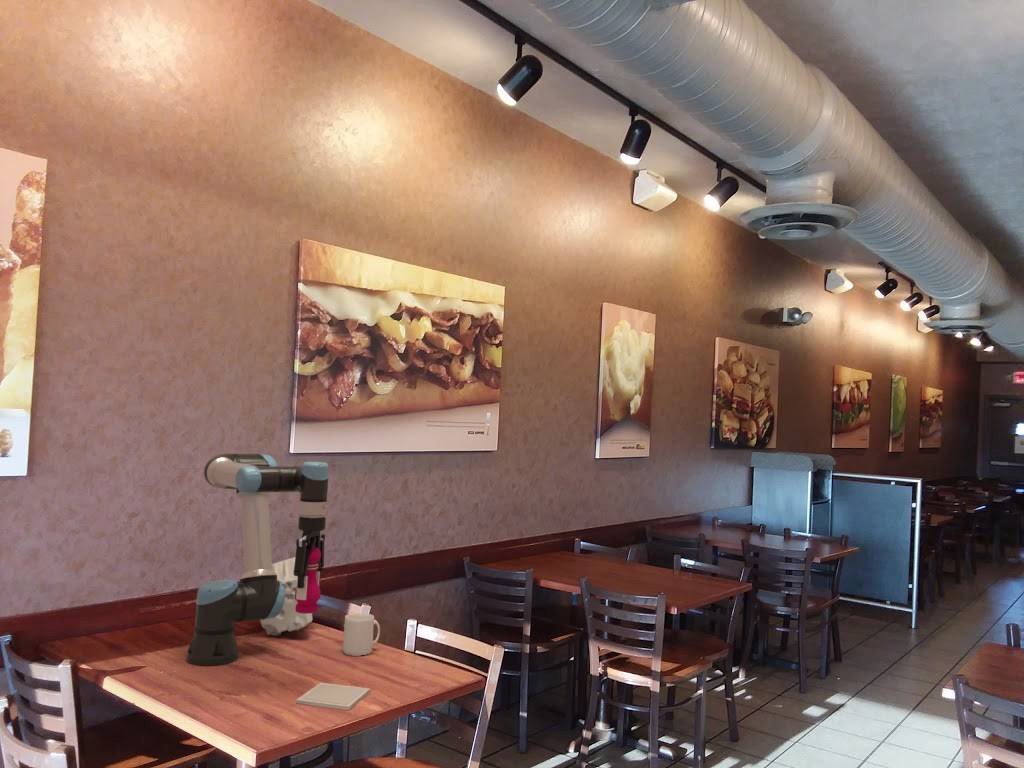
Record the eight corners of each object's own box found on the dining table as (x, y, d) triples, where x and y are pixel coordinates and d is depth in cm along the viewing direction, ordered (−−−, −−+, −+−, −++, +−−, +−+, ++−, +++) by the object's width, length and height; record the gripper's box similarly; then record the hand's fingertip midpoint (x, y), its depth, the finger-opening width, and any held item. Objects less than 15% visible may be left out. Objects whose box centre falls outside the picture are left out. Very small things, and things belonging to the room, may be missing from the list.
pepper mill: (296, 614, 224) (301, 542, 225) (291, 608, 230) (295, 538, 231) (322, 613, 227) (326, 542, 228) (316, 607, 234) (320, 538, 235)
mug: (336, 651, 262) (339, 615, 263) (366, 645, 271) (368, 610, 272) (354, 658, 256) (356, 621, 257) (384, 651, 265) (386, 616, 265)
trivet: (296, 703, 214) (296, 699, 214) (320, 686, 228) (320, 682, 229) (348, 710, 211) (348, 706, 211) (370, 692, 225) (370, 688, 225)
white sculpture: (310, 633, 272) (290, 562, 274) (265, 647, 272) (245, 575, 274) (325, 619, 292) (306, 553, 294) (283, 632, 292) (265, 566, 294)
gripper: (308, 520, 220) (303, 605, 218) (339, 513, 239) (334, 591, 238) (283, 518, 221) (278, 602, 220) (315, 511, 241) (311, 588, 240)
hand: (307, 596), depth 229 cm, fingers closed on pepper mill, 7 cm apart
